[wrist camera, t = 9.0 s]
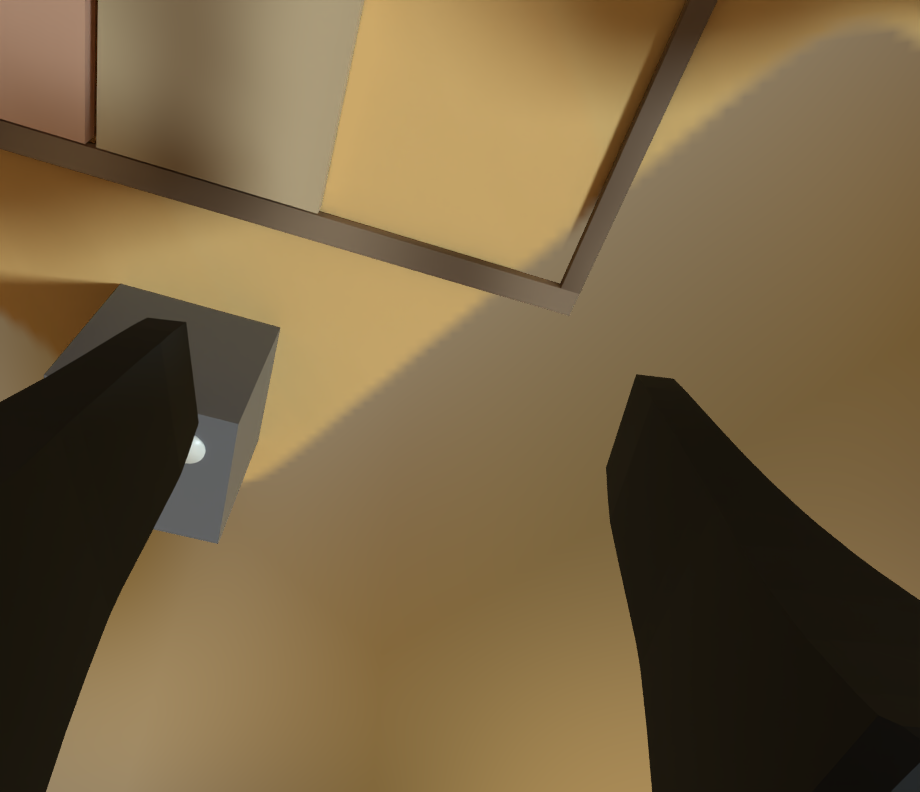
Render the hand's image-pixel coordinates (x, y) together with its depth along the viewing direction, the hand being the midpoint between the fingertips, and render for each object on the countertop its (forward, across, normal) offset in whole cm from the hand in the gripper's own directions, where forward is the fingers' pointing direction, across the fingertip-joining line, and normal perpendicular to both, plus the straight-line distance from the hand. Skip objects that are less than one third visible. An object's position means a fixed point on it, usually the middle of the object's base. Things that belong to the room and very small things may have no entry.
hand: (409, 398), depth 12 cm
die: (+10, +8, +8) cm, 15 cm away
